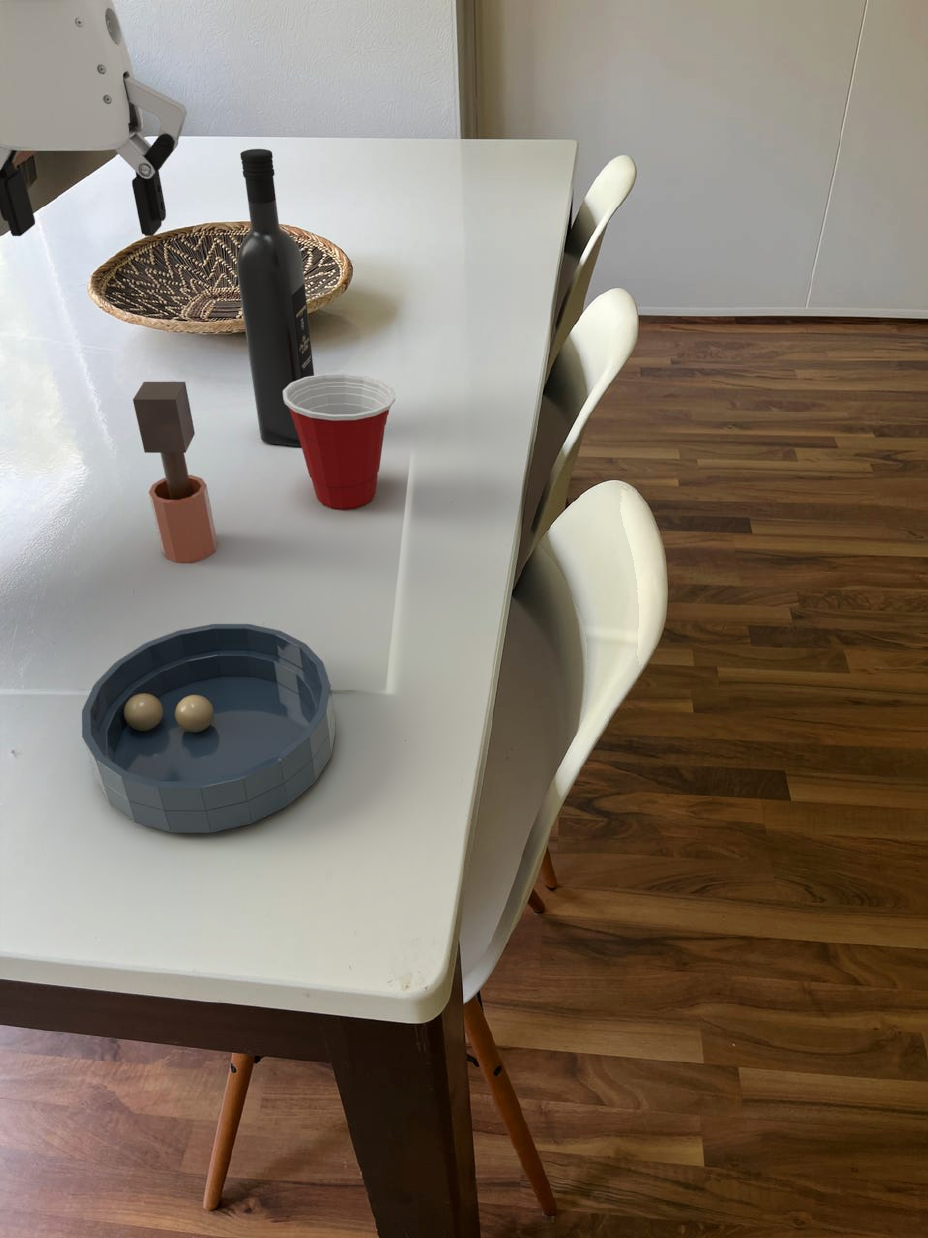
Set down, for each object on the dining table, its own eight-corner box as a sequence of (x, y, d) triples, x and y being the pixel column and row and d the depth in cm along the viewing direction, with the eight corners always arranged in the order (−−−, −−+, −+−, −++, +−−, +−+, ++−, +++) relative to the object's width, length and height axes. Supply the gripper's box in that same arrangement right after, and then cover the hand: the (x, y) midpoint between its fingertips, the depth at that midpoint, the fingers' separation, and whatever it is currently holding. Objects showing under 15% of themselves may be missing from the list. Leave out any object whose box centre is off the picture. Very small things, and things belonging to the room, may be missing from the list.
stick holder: (158, 567, 92) (143, 502, 88) (171, 537, 96) (157, 474, 92) (211, 567, 92) (199, 502, 88) (222, 537, 96) (210, 474, 92)
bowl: (65, 838, 67) (46, 787, 64) (135, 671, 80) (121, 623, 77) (319, 839, 66) (312, 788, 63) (346, 672, 80) (341, 623, 77)
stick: (168, 557, 92) (132, 399, 83) (177, 536, 95) (143, 381, 85) (206, 557, 92) (175, 399, 83) (214, 536, 95) (185, 381, 85)
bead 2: (216, 707, 72) (200, 742, 72) (223, 701, 75) (207, 735, 75) (180, 691, 72) (164, 726, 72) (188, 686, 75) (173, 719, 75)
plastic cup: (422, 498, 102) (418, 389, 94) (340, 538, 96) (329, 426, 88) (355, 462, 108) (347, 357, 101) (274, 498, 102) (259, 389, 95)
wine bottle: (322, 426, 115) (294, 146, 96) (306, 449, 110) (273, 160, 92) (276, 421, 116) (239, 143, 97) (258, 444, 111) (216, 157, 93)
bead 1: (157, 693, 72) (166, 730, 73) (159, 686, 75) (167, 721, 75) (118, 702, 72) (127, 739, 72) (121, 694, 74) (129, 730, 75)
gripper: (173, -49, 66) (214, 216, 77) (-83, -49, 66) (-8, 216, 77) (144, -40, 60) (192, 246, 71) (-137, -39, 61) (-48, 246, 71)
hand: (88, 230), depth 74 cm, fingers open, 9 cm apart
